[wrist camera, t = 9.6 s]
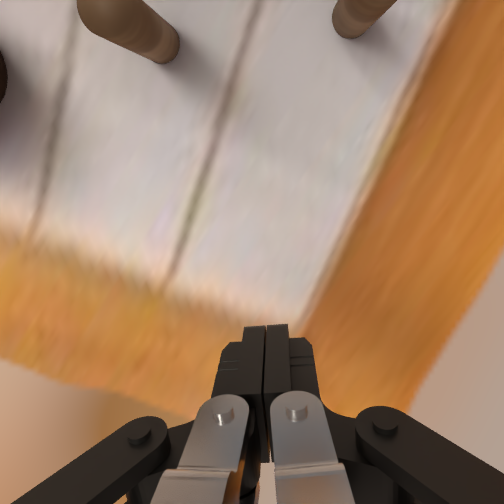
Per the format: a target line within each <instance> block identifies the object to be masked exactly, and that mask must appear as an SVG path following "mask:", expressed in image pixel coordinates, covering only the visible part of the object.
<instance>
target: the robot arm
mask: <svg viewBox="0 0 504 504" xmlns="http://www.w3.org/2000/svg"><path fill="white" fill-rule="evenodd" d="M270 451H271V459H272V462H274V463H275V470H274V472H275V485H276V496H277V504H504V474H503V473H502V472H500V471H498V470H497V469H495V468H494V467H492V466H490V465H489V464H487V463H485V462H484V461H482V460H480V459H479V458H477V457H475V456H474V455H472V454H471V453H469V452H467V451H466V450H464V449H462V448H461V447H459V446H457V445H456V444H454V443H452V442H451V441H449V440H447V439H446V438H444V437H443V436H441V435H439V434H438V433H436V432H434V431H433V430H431V429H429V428H428V427H426V426H424V425H423V424H421V423H420V422H418V421H416V420H415V419H413V418H411V417H410V416H408V415H406V414H405V413H403V412H401V411H399V410H397V409H394V408H391V407H386V406H374V407H369V408H367V409H365V410H363V411H361V412H360V413H359V414H358V416H357V417H356V419H355V418H350V417H346V416H342V415H339V414H336V413H334V412H332V411H331V410H329V409H328V408H327V407H326V406H325V405H324V404H323V403H322V401H321V398H320V394H319V387H318V381H317V375H316V368H315V362H314V355H313V349H312V345H311V344H310V343H309V342H308V341H307V340H306V339H305V338H304V337H303V338H289V331H288V324H279V325H267V331H266V326H250V327H244V331H243V338H242V342H230V343H229V344H228V345H227V346H226V347H225V348H224V349H223V351H222V353H221V357H220V363H219V366H218V371H217V374H216V378H215V383H214V387H213V391H212V395H211V399H209V400H208V401H206V402H205V403H204V404H203V405H202V406H201V407H200V409H199V411H198V413H197V416H196V419H194V420H193V421H191V422H188V423H186V424H183V425H179V426H176V427H172V428H169V429H167V425H166V423H165V422H164V421H163V420H162V419H160V418H158V417H153V416H146V417H141V418H137V419H134V420H132V421H130V422H128V423H127V424H125V425H124V426H122V427H121V428H119V429H118V430H117V431H115V432H114V433H112V434H111V435H109V436H108V437H106V438H105V439H103V440H102V441H101V442H99V443H98V444H96V445H95V446H93V447H92V448H91V449H89V450H88V451H86V452H85V453H83V454H82V455H80V456H79V457H78V458H76V459H75V460H73V461H72V462H70V463H69V464H67V465H66V466H65V467H63V468H62V469H60V470H59V471H57V472H56V473H54V474H53V475H52V476H50V477H49V478H47V479H46V480H44V481H43V482H41V483H40V484H38V485H37V486H36V487H34V488H33V489H31V490H30V491H28V492H27V493H25V494H24V495H23V496H21V497H20V498H18V499H17V500H16V501H14V502H13V503H11V504H113V503H115V502H116V501H117V500H119V499H120V498H121V497H122V496H123V495H125V494H126V497H127V502H125V503H124V504H258V500H259V492H260V486H259V478H260V466H261V463H269V461H270V458H269V457H270Z"/></svg>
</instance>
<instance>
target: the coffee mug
mask: <svg viewBox="0 0 504 504" xmlns="http://www.w3.org/2000/svg"><path fill="white" fill-rule="evenodd" d="M6 88H7V70H6V65H5V61H4V58H3V56H2V54H1V51H0V103H1V101H2V99H3V97H4V95H5V92H6Z"/></svg>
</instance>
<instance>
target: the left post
mask: <svg viewBox="0 0 504 504" xmlns="http://www.w3.org/2000/svg"><path fill="white" fill-rule="evenodd" d="M77 8H78V12H79V15H80V18H81V20H82V22H83V23H84V25H85V26H86V27H87V28H88V29H89V30H90V31H91V32H93V33H94V34H96V35H98V36H100V37H102V38H104V39H106V40H109V41H111V42H113V43H115V44H117V45H119V46H122V47H124V48H126V49H128V50H130V51H132V52H135V53H137V54H139V55H141V56H143V57H145V58H147V59H150V60H152V61H154V62H156V63H161V64H163V63H168V62H170V61H172V60H173V59H174V58H175V57H176V55H177V53H178V51H179V37H178V34H177V32H176V31H175V29H174V28H173V27H172V26H171V25H170V24H169V23H167V22H166V21H165V20H164V19H163V18H162V17H161V16H160V15H158V14H157V13H156V12H155V11H154V10H153V9H152V8H150V7H149V6H148V5H147V4H146V3H145V2H144V1H142V0H77Z"/></svg>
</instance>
